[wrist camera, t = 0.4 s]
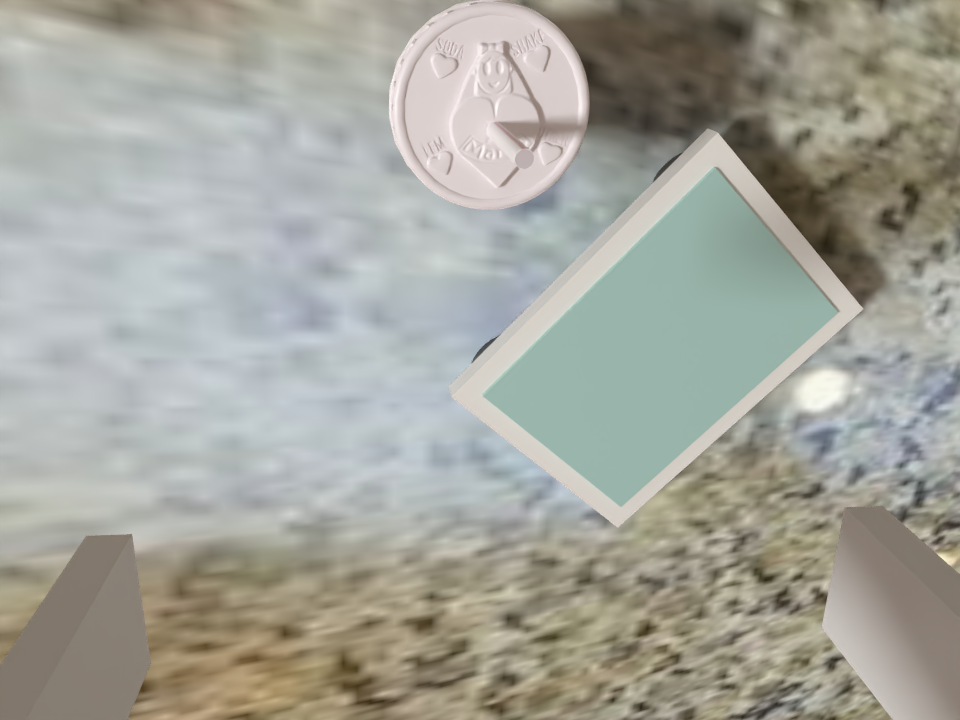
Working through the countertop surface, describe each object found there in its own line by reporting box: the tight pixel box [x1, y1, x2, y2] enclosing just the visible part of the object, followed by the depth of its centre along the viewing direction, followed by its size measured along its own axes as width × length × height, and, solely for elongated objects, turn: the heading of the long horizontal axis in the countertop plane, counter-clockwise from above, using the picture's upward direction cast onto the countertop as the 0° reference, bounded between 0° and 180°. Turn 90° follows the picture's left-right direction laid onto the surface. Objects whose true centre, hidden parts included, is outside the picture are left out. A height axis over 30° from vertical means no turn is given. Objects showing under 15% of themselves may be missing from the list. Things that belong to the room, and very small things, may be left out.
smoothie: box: [389, 0, 590, 210], centre depth 27 cm, size 6×6×14 cm
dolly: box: [449, 128, 863, 527], centre depth 39 cm, size 16×12×4 cm
